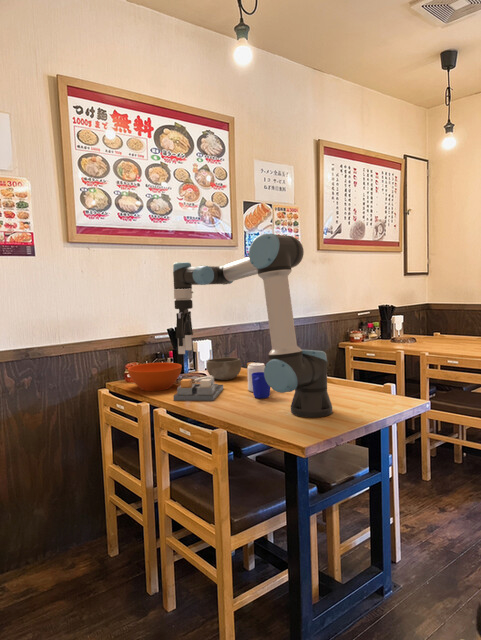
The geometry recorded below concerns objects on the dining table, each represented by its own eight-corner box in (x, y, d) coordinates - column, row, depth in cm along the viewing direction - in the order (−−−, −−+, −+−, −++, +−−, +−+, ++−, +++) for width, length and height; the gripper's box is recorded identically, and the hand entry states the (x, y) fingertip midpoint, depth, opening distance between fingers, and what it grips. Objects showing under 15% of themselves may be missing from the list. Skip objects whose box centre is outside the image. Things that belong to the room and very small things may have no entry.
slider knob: (212, 389, 200) (212, 378, 200) (206, 389, 201) (205, 378, 200) (214, 387, 204) (214, 376, 203) (207, 387, 204) (207, 376, 204)
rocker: (211, 378, 207) (210, 376, 207) (194, 382, 208) (194, 379, 208) (212, 377, 210) (212, 375, 210) (196, 380, 211) (195, 378, 211)
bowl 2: (210, 375, 245) (210, 356, 244) (243, 375, 243) (243, 356, 242) (203, 381, 228) (203, 362, 227) (239, 382, 226) (238, 361, 225)
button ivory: (209, 389, 192) (209, 380, 192) (200, 389, 193) (200, 380, 192) (211, 387, 196) (211, 379, 196) (202, 387, 196) (202, 379, 196)
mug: (246, 401, 187) (245, 377, 187) (255, 394, 199) (255, 371, 198) (265, 402, 184) (265, 378, 184) (273, 395, 196) (273, 372, 195)
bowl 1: (150, 380, 235) (149, 361, 234) (192, 384, 224) (191, 363, 223) (117, 391, 212) (116, 370, 212) (162, 395, 201) (161, 373, 201)
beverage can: (244, 391, 206) (243, 364, 205) (256, 387, 211) (255, 362, 211) (258, 393, 200) (257, 366, 199) (269, 390, 206) (269, 363, 205)
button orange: (189, 389, 193) (189, 380, 193) (180, 388, 194) (180, 380, 194) (192, 387, 197) (191, 379, 197) (183, 386, 198) (183, 378, 197)
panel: (213, 400, 189) (213, 388, 189) (173, 400, 192) (173, 388, 192) (223, 388, 211) (223, 378, 211) (187, 388, 214) (187, 378, 213)
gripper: (184, 300, 181) (186, 356, 183) (198, 298, 203) (200, 348, 205) (166, 300, 182) (168, 356, 184) (182, 298, 204) (183, 348, 206)
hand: (185, 351), depth 194 cm, fingers open, 10 cm apart
